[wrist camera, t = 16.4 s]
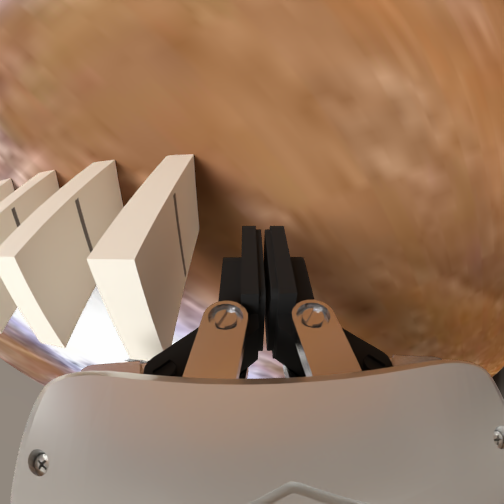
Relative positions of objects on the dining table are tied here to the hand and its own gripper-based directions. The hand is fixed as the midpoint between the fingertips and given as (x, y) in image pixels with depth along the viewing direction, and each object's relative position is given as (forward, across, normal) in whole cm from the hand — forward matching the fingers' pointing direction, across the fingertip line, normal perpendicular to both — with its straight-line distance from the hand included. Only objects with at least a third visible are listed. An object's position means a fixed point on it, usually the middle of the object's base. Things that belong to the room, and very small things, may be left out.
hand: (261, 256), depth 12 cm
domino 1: (+6, +4, 0) cm, 8 cm away
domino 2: (+6, +10, 0) cm, 11 cm away
